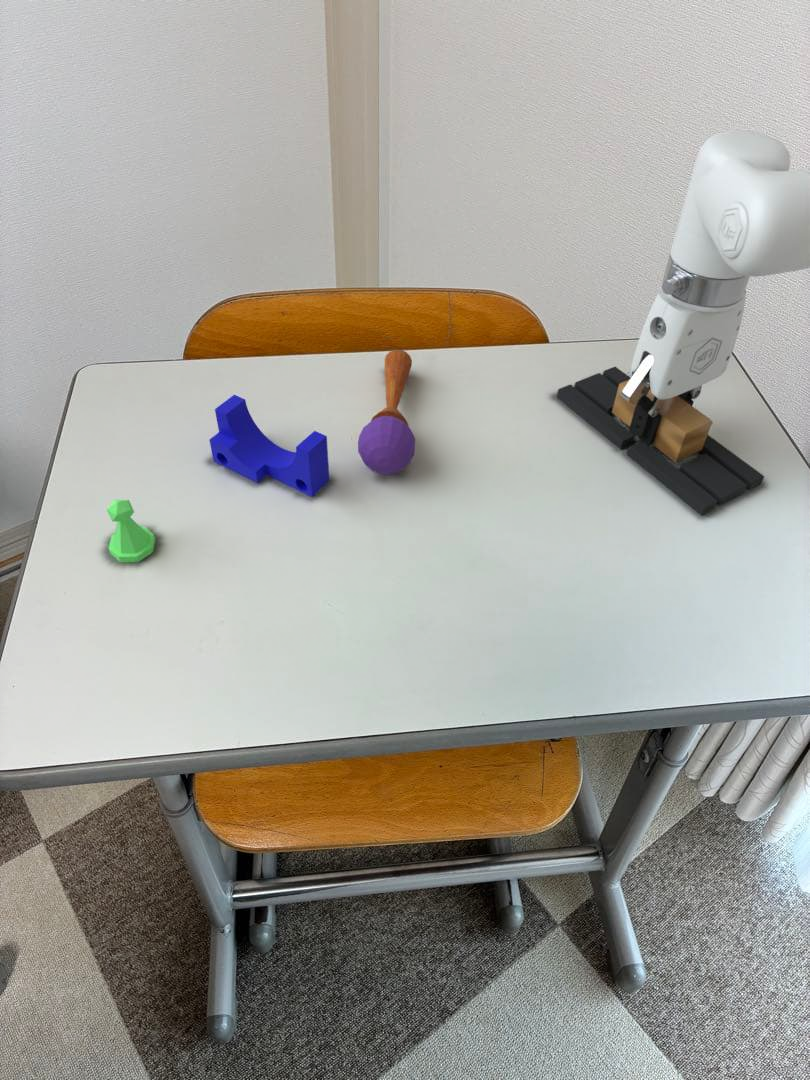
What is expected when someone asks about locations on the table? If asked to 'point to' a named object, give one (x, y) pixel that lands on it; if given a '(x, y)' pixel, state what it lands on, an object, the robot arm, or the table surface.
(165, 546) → the table surface
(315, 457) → the blue cradle bracket
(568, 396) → the pad
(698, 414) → the block
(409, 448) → the kendama
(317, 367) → the table surface
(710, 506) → the pad
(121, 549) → the game piece
